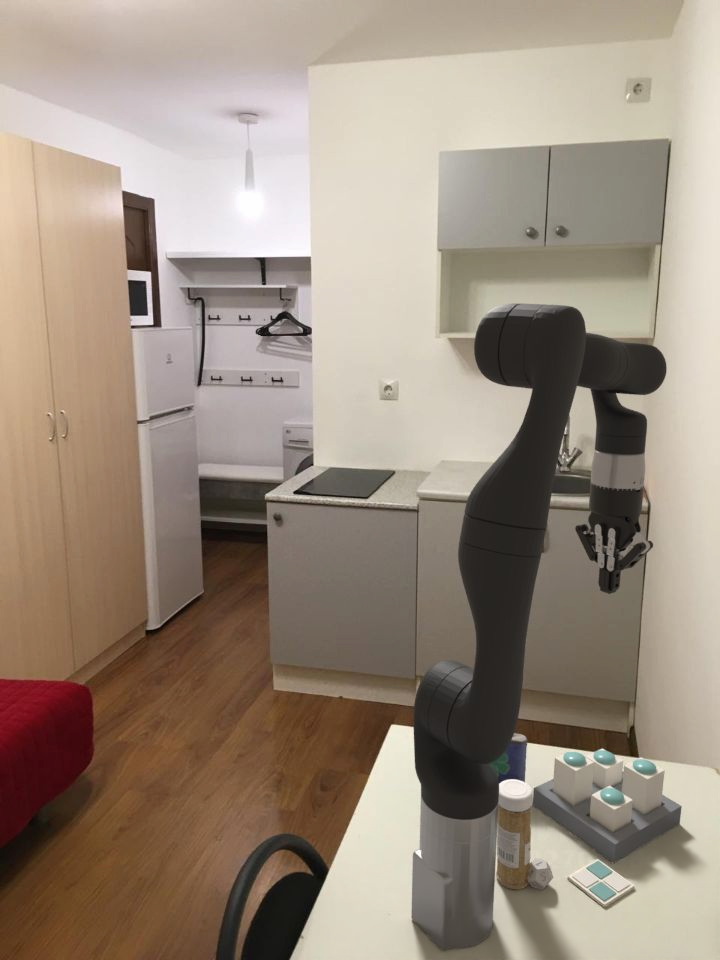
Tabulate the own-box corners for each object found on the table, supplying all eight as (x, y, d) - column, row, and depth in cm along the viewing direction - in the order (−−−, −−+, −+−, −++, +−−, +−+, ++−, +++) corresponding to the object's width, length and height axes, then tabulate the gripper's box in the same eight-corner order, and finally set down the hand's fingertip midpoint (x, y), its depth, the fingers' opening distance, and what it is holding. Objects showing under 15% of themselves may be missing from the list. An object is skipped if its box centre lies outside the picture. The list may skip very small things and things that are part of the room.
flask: (526, 786, 121) (529, 725, 119) (520, 796, 119) (524, 734, 116) (472, 769, 125) (474, 710, 123) (465, 778, 123) (467, 718, 121)
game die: (558, 887, 99) (559, 867, 99) (536, 897, 98) (536, 877, 97) (541, 870, 103) (541, 851, 102) (519, 879, 101) (519, 860, 100)
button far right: (643, 816, 110) (647, 776, 109) (620, 801, 113) (624, 763, 112) (660, 806, 112) (664, 767, 111) (637, 792, 115) (641, 754, 114)
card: (604, 907, 96) (604, 903, 96) (567, 878, 101) (567, 875, 101) (634, 888, 100) (634, 884, 99) (597, 861, 104) (597, 857, 104)
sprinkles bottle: (537, 882, 100) (540, 791, 97) (510, 895, 98) (512, 803, 95) (515, 861, 104) (517, 773, 101) (488, 873, 102) (489, 784, 99)
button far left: (603, 804, 116) (606, 766, 115) (582, 790, 119) (585, 754, 118) (620, 795, 118) (623, 758, 117) (599, 782, 122) (602, 746, 120)
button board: (613, 863, 104) (615, 844, 103) (532, 805, 116) (533, 788, 116) (679, 823, 112) (681, 806, 111) (597, 773, 124) (598, 757, 124)
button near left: (573, 807, 112) (576, 768, 110) (552, 793, 115) (555, 755, 114) (591, 798, 114) (594, 759, 113) (570, 784, 117) (573, 747, 116)
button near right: (611, 847, 107) (614, 807, 105) (588, 831, 110) (591, 792, 109) (629, 837, 109) (633, 797, 107) (606, 821, 112) (609, 783, 111)
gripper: (565, 476, 116) (558, 583, 120) (639, 493, 105) (629, 610, 109) (597, 470, 120) (590, 575, 124) (672, 486, 109) (661, 600, 113)
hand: (608, 591), depth 116 cm, fingers closed
